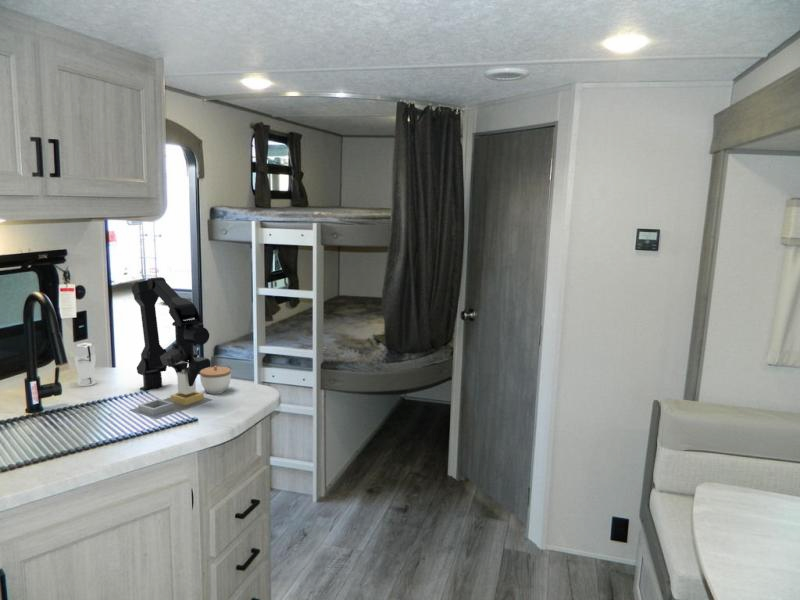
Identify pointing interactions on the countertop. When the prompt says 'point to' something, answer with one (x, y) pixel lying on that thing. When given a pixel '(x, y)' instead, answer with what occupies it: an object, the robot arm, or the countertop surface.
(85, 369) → the beer glass
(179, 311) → the robot arm
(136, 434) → the countertop surface
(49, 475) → the countertop surface
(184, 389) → the plug
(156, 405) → the multicoloured flat piece
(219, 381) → the lidded jar
